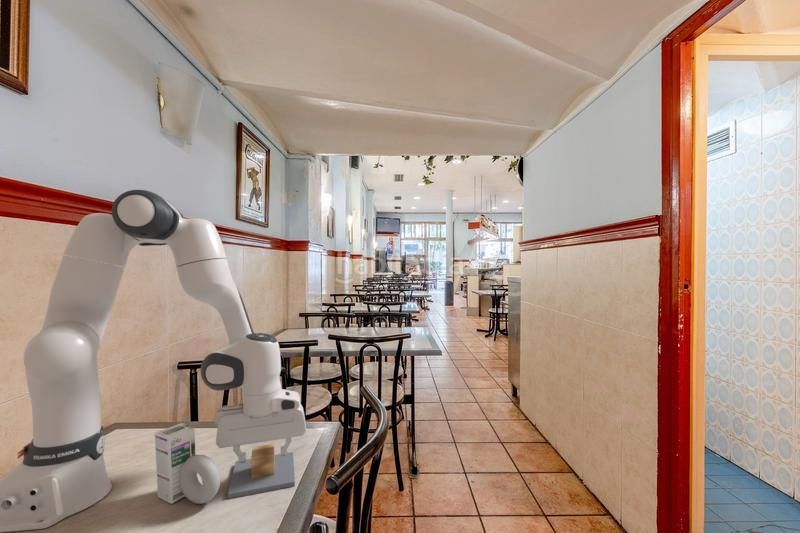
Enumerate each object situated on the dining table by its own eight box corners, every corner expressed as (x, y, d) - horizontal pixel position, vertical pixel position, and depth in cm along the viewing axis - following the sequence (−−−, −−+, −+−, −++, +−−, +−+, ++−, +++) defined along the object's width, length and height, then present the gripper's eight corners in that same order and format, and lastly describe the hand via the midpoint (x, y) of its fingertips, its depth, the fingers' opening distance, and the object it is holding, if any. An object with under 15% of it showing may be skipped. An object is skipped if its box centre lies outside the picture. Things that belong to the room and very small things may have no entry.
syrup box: (171, 505, 78) (168, 436, 78) (156, 497, 81) (154, 431, 81) (197, 490, 83) (195, 426, 83) (182, 483, 86) (180, 421, 86)
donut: (224, 502, 79) (224, 456, 79) (211, 512, 76) (210, 464, 75) (189, 492, 82) (189, 447, 82) (175, 501, 79) (175, 455, 79)
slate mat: (228, 498, 80) (227, 494, 80) (235, 465, 93) (235, 461, 93) (294, 486, 84) (294, 481, 84) (293, 455, 98) (293, 451, 98)
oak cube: (251, 478, 86) (251, 457, 86) (253, 467, 90) (252, 447, 90) (274, 474, 87) (273, 453, 87) (274, 463, 92) (274, 443, 92)
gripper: (212, 412, 82) (213, 473, 83) (306, 400, 89) (307, 457, 89) (217, 402, 88) (218, 459, 89) (304, 391, 95) (305, 445, 95)
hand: (263, 458), depth 89 cm, fingers open, 8 cm apart
